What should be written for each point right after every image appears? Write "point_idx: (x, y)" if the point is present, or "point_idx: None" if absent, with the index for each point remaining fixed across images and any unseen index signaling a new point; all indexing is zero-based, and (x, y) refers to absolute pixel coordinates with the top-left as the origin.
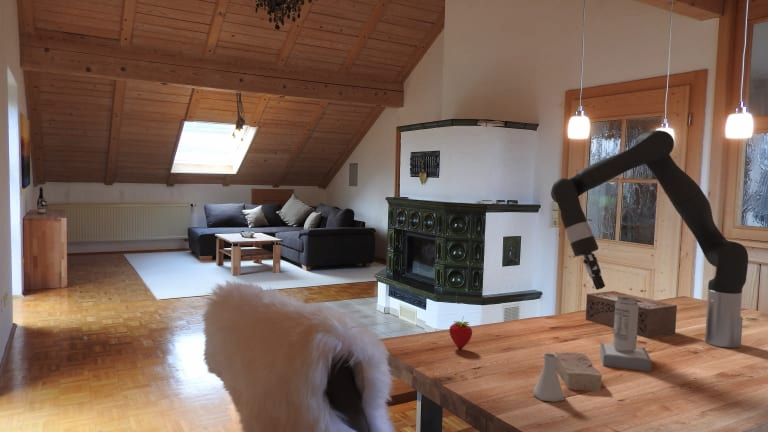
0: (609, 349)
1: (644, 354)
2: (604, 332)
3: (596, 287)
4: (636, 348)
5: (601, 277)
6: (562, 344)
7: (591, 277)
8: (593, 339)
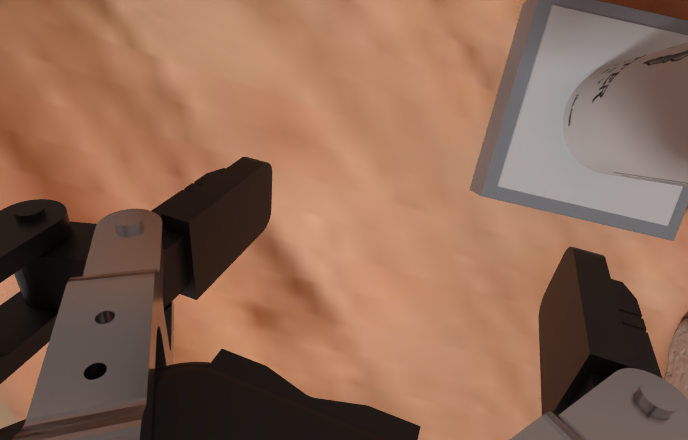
0: (596, 189)
1: (671, 38)
2: (122, 61)
3: (258, 227)
4: (570, 43)
5: (624, 340)
6: (363, 315)
7: (173, 308)
8: (260, 156)
